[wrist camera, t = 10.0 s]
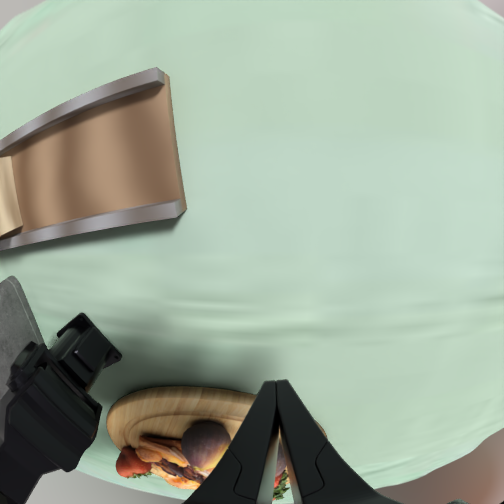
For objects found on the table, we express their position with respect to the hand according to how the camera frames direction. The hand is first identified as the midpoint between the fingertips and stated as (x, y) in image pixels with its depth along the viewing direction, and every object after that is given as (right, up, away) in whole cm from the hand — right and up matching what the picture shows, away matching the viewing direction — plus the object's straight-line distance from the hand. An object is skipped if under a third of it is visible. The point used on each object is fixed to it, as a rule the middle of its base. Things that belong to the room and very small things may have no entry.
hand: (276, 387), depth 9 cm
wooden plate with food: (-6, -24, +24) cm, 34 cm away
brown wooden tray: (-21, +11, +10) cm, 26 cm away
